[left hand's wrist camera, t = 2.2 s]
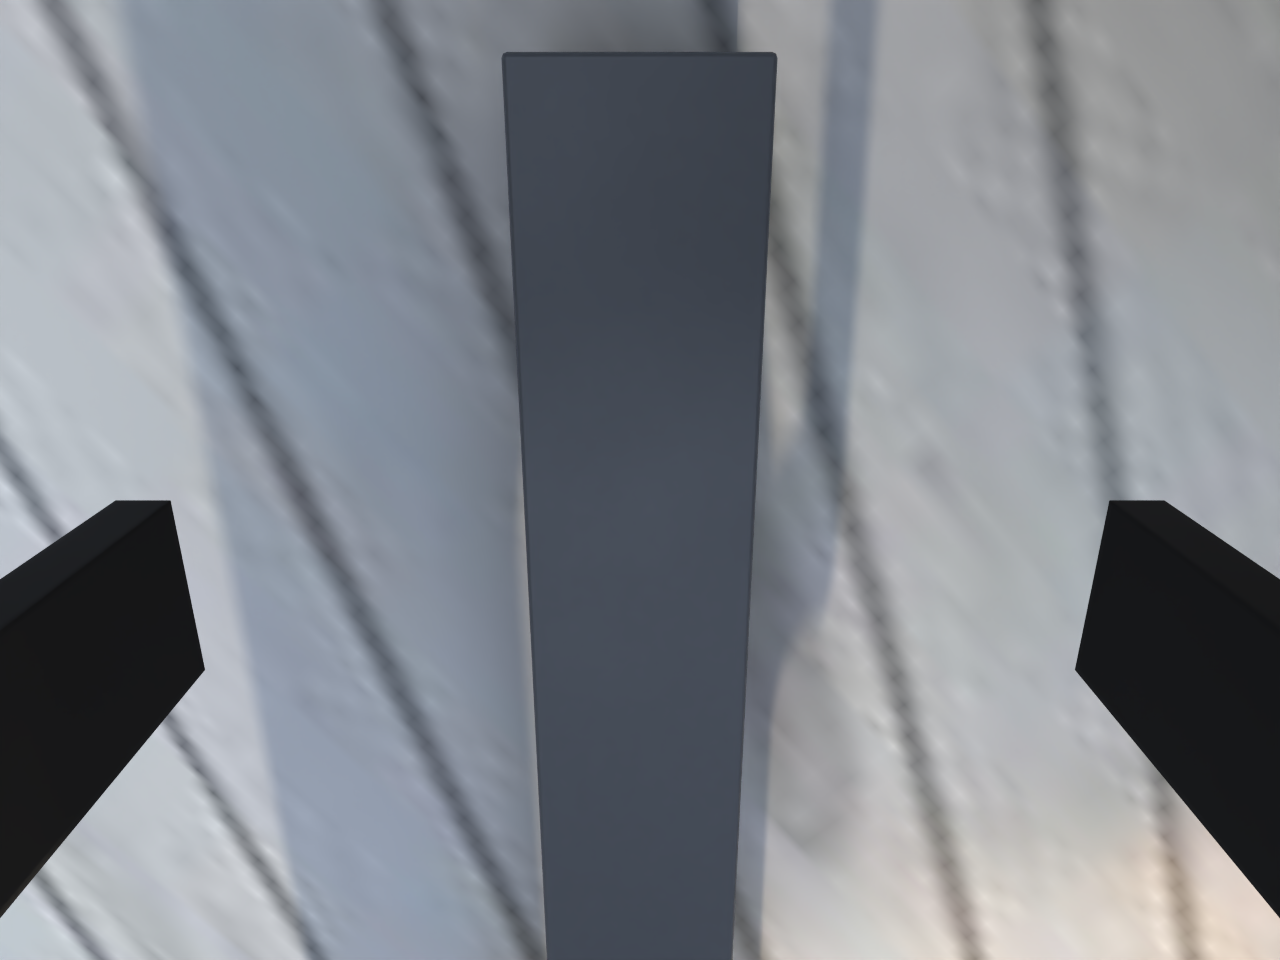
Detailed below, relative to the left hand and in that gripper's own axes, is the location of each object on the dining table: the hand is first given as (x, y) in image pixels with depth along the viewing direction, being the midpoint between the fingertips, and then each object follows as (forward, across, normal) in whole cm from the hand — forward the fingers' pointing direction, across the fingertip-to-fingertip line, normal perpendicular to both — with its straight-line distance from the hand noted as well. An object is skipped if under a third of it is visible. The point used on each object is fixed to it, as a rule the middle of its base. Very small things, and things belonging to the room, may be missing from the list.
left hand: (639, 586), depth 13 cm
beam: (+14, 0, -24) cm, 28 cm away
